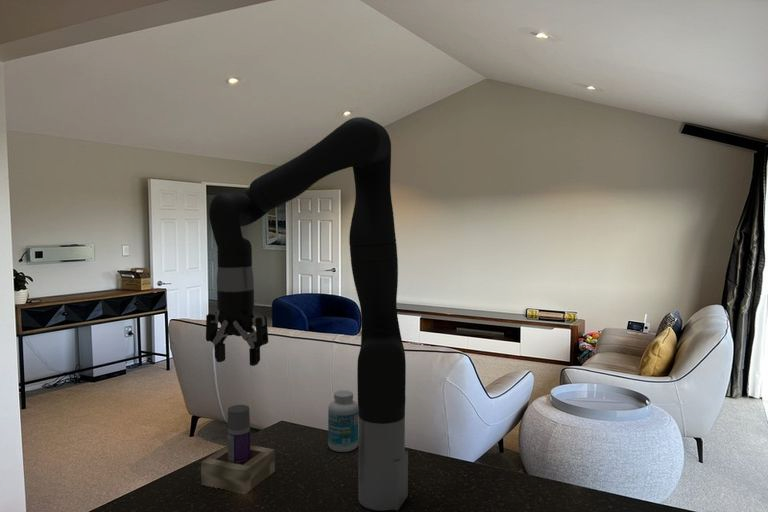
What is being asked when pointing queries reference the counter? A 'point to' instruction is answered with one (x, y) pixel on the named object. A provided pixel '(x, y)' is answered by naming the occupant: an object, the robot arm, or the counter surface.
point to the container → (238, 434)
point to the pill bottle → (343, 422)
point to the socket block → (237, 470)
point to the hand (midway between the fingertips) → (237, 363)
